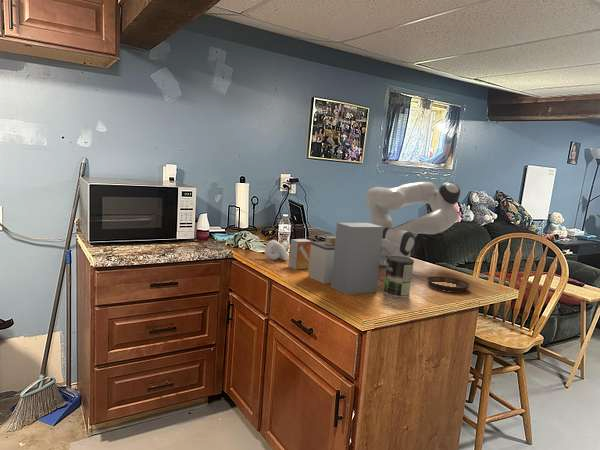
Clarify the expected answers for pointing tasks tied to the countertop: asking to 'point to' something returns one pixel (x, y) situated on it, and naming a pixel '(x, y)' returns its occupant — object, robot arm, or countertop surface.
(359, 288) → the grey stand
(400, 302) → the countertop surface
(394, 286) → the coffee can
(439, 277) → the plant saucer
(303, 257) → the small box
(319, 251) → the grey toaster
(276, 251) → the grey rounded lump
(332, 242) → the birch slat
